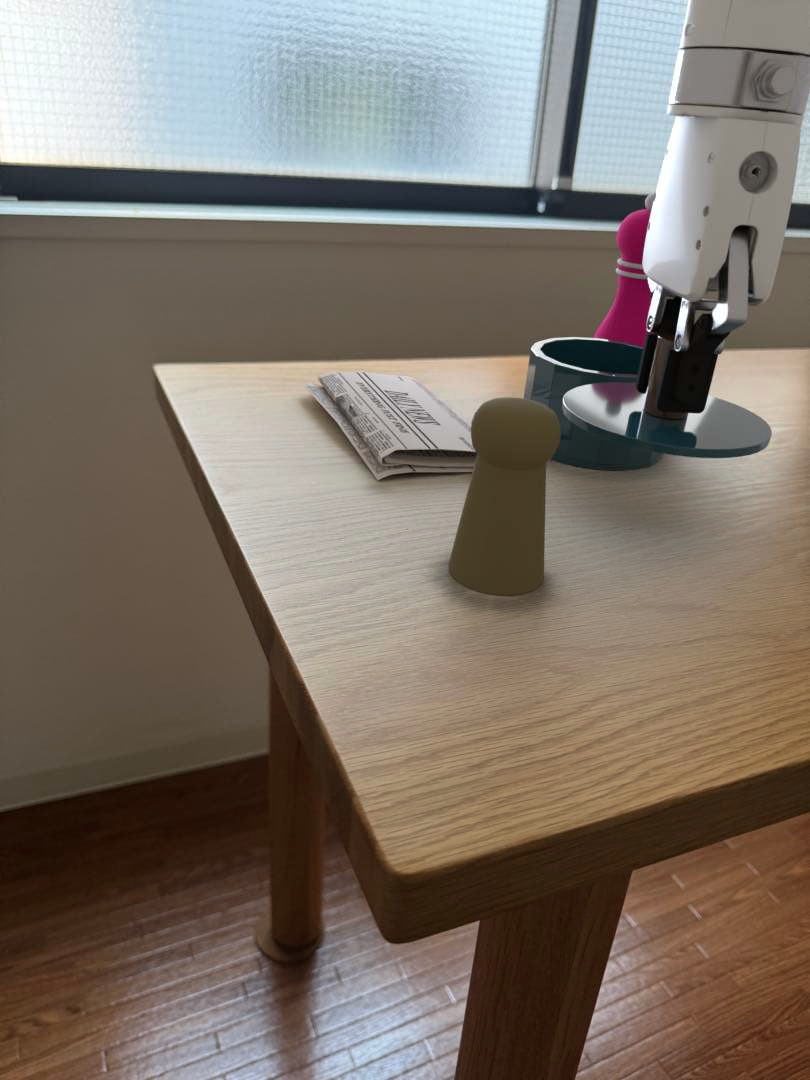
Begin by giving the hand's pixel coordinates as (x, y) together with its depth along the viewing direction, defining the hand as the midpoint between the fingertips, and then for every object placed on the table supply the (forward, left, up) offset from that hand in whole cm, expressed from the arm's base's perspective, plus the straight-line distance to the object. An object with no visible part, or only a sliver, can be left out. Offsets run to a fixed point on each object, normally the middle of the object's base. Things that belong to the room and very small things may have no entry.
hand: (668, 399), depth 57 cm
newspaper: (+16, -19, -10) cm, 27 cm away
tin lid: (0, 0, -2) cm, 2 cm away
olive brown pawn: (+12, +7, -10) cm, 17 cm away
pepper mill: (-9, -34, -10) cm, 37 cm away
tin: (-1, -17, -10) cm, 20 cm away
